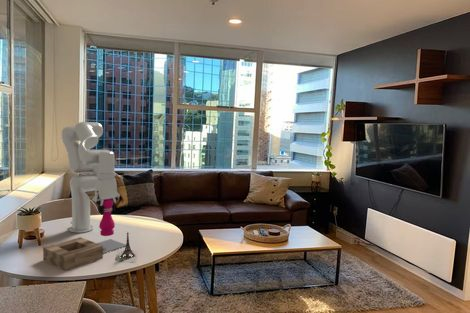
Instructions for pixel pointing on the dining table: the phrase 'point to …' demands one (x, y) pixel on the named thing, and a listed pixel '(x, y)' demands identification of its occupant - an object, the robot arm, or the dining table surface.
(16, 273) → the dining table surface
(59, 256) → the walnut pocket holder
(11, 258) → the dining table surface
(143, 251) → the dining table surface
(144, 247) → the dining table surface
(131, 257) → the eiffel tower figurine
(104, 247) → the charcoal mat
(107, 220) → the pepper mill
